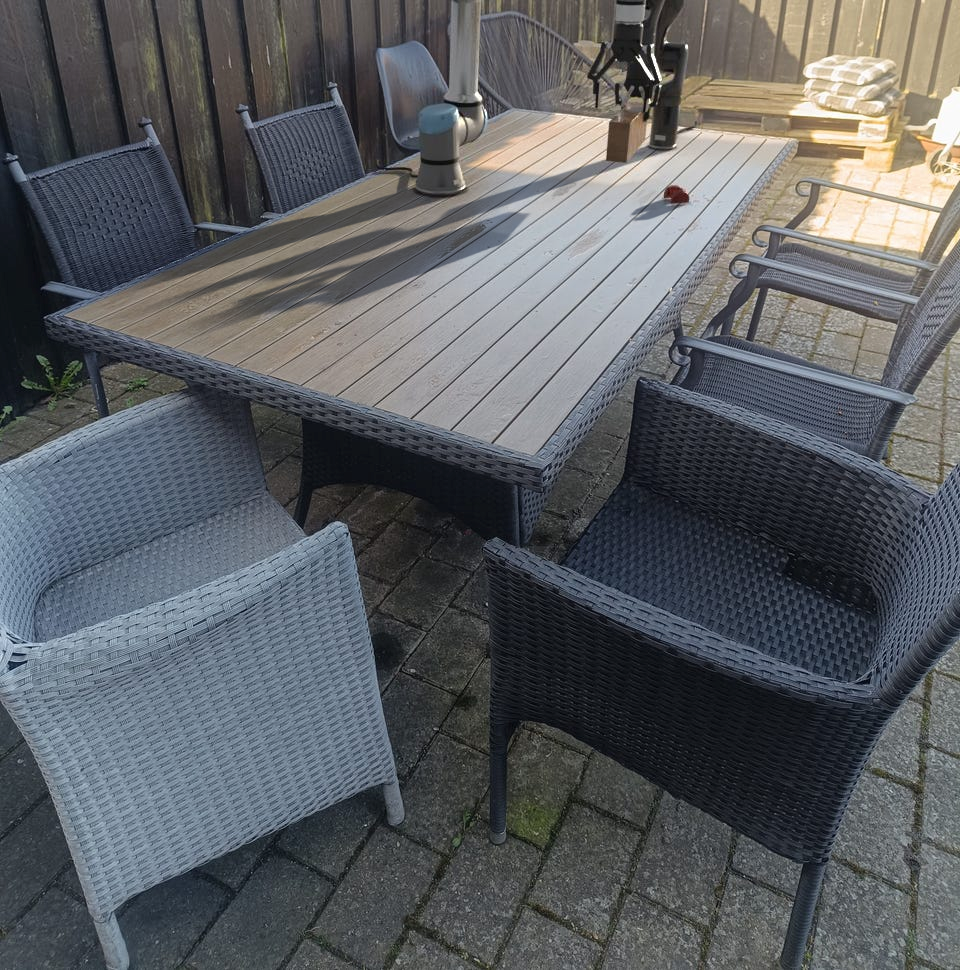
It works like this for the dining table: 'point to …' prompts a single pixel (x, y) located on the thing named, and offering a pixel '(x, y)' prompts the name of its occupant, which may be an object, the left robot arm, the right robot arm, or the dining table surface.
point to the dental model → (676, 194)
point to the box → (626, 132)
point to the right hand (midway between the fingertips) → (634, 120)
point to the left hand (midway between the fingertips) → (621, 109)
